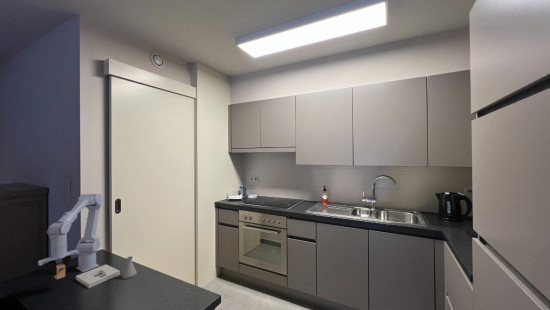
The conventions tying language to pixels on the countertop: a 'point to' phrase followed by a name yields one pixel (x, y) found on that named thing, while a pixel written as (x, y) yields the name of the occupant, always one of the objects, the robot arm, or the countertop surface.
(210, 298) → the countertop surface
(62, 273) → the plug
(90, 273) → the socket
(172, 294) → the countertop surface
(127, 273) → the flask
